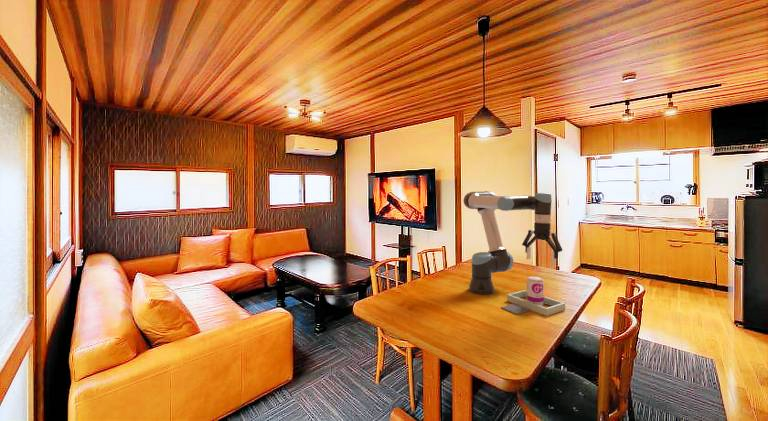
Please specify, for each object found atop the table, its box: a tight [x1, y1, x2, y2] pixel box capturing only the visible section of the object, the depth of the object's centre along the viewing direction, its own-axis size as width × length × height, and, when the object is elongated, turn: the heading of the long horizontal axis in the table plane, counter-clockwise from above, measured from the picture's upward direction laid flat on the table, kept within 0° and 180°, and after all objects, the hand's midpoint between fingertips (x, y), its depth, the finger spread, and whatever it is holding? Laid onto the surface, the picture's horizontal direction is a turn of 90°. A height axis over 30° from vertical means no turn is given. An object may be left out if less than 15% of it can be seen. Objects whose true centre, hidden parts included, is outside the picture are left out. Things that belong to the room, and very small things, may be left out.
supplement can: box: [526, 275, 545, 307], centre depth 165 cm, size 8×8×15 cm
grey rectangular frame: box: [506, 289, 566, 317], centre depth 165 cm, size 24×15×4 cm, turn 28°
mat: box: [501, 303, 532, 316], centre depth 160 cm, size 10×10×1 cm
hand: (540, 261), depth 162 cm, fingers open, 13 cm apart
